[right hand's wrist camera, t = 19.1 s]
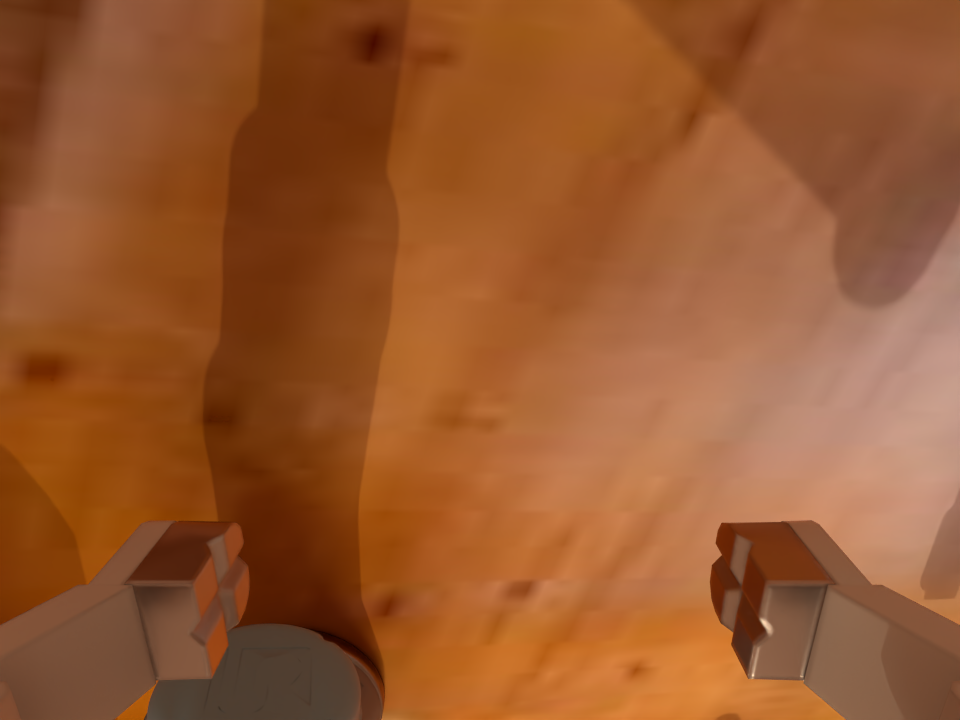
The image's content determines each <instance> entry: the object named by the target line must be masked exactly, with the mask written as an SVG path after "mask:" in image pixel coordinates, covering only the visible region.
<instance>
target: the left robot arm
mask: <svg viewBox="0 0 960 720" xmlns="http://www.w3.org/2000/svg"><path fill="white" fill-rule="evenodd" d="M227 638H228V643H229V645H228V647H227V649H226V651H225V653H224V655H223V657H222V659H221V661H220V663H219V665H218V667H217V669H216V671H215V673H214V675H213V677H212V679H187V680H159V681H158V683H157V684H156V687H155V689H154V691H153V693H152V696H151V698H150V702H149V706H148V712H147V714H146V716H145V718H144V720H381V719H382V713H383V707H384V700H385V693H384V686H383V682H382V679H381V677H380V675H379V673H378V671H377V669H376V668H375V666H374V665H373V664H372V662H371V661H370V660H369V659H368V658H367V657H366V656H365V655H364V654H363V653H362V652H361V651H359V650H358V649H357V648H355V647H354V646H352V645H351V644H349V643H347V642H345V641H343V640H341V639H339V638H337V637H334V636H332V635H329V634H325V633H322V632H317V631H312V630H309V629H306V628H302V627H298V626H293V625H287V624H273V623H267V624H253V625H247V626H241V627H237V628H233V629H230V630H229V631H228V632H227Z"/></svg>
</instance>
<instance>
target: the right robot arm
mask: <svg viewBox="0 0 960 720" xmlns="http://www.w3.org/2000/svg"><path fill="white" fill-rule="evenodd" d="M243 545H244V539H243V534H242V529H241V526H240V525H239V524H237V523H236V522H207V521H178V522H177V521H148V522H145V523H142V524H141V525H140V526H139V527H138V528H137V529H136V530H135V532H134V533H133V534H132V535H131V536H130V537H129V538H128V540H127V541H126V542H125V543H124V544H123V545H122V547H121V548H120V549H119V550H118V551H117V552H116V553H115V555H114V556H113V557H112V558H111V559H110V560H109V561H108V563H107V564H106V565H105V566H104V567H103V568H102V569H101V571H100V572H99V573H98V574H97V575H96V576H95V577H94V579H93V580H92V581H91V582H90V583H89V584H88V585H77V586H75V587H73V588H71V589H69V590H67V591H66V592H64V593H62V594H60V595H58V596H56V597H54V598H52V599H50V600H48V601H46V602H44V603H42V604H40V605H38V606H36V607H34V608H32V609H31V610H29V611H27V612H25V613H23V614H21V615H19V616H17V617H15V618H13V619H11V620H9V621H7V622H5V623H3V624H1V625H0V720H114V719H115V718H116V717H118V716H119V715H120V714H121V713H122V712H123V711H125V710H126V709H127V708H128V707H129V706H130V705H132V704H133V703H134V702H135V701H136V700H138V699H139V698H140V697H141V696H142V695H143V694H145V693H146V692H147V691H148V690H149V689H150V688H152V687H153V686H154V685H155V684H156V680H187V679H212V677H213V675H214V673H215V671H216V669H217V667H218V665H219V663H220V661H221V659H222V657H223V655H224V653H225V651H226V649H227V647H228V645H229V643H228V638H227V632H228V631H229V630H230V629H232V628H233V627H235V626H236V625H237V624H239V623H240V620H241V618H242V616H243V614H244V612H245V610H246V605H247V601H248V596H249V592H250V575H249V569H248V565H247V564H246V563H245V562H244V561H243V560H242V559H241V558H240V557H239V556H238V554H239V552H240V550H241V548H242V547H243ZM716 545H717V547H718V548H719V550H720V552H721V554H722V556H721V557H720V558H719V559H718V560H717V561H716V562H715V563H714V564H713V565H712V569H711V577H710V588H711V599H712V602H713V606H714V609H715V612H716V614H717V616H718V618H719V620H720V623H721V624H723V625H724V626H725V627H727V628H728V629H730V630H731V631H732V632H733V638H732V643H731V645H732V647H733V649H734V651H735V653H736V655H737V657H738V659H739V661H740V663H741V665H742V667H743V669H744V671H745V673H746V675H747V677H748V679H772V680H804V684H805V685H806V686H808V687H809V688H810V689H811V690H812V691H813V692H815V693H816V694H817V695H818V696H819V697H820V698H822V699H823V700H824V701H825V702H826V703H827V704H829V705H830V706H831V707H832V708H833V709H834V710H836V711H837V712H838V713H839V714H840V715H841V716H843V717H844V718H845V719H846V720H960V625H958V624H956V623H955V622H953V621H951V620H949V619H947V618H945V617H943V616H941V615H939V614H937V613H935V612H933V611H931V610H929V609H927V608H925V607H924V606H922V605H920V604H918V603H916V602H914V601H912V600H910V599H908V598H906V597H904V596H902V595H900V594H898V593H896V592H894V591H893V590H891V589H889V588H887V587H885V586H883V585H872V584H871V583H870V582H869V581H868V580H867V579H866V577H865V576H864V575H863V574H862V573H861V572H860V571H859V569H858V568H857V567H856V566H855V565H854V564H853V563H852V561H851V560H850V559H849V558H848V557H847V556H846V555H845V553H844V552H843V551H842V550H841V549H840V548H839V547H838V545H837V544H836V543H835V542H834V541H833V540H832V539H831V537H830V536H829V535H828V534H827V533H826V532H825V531H824V529H823V528H822V527H821V526H820V525H819V524H818V523H816V522H814V521H812V520H808V521H781V522H748V523H721V525H720V527H719V529H718V532H717V538H716Z"/></svg>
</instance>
